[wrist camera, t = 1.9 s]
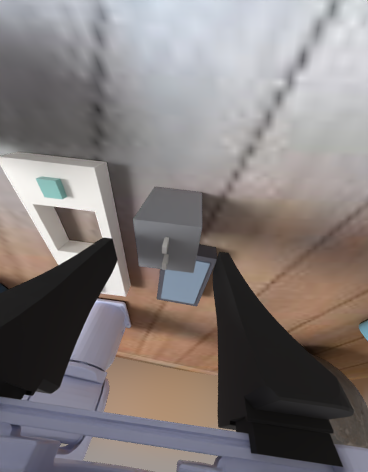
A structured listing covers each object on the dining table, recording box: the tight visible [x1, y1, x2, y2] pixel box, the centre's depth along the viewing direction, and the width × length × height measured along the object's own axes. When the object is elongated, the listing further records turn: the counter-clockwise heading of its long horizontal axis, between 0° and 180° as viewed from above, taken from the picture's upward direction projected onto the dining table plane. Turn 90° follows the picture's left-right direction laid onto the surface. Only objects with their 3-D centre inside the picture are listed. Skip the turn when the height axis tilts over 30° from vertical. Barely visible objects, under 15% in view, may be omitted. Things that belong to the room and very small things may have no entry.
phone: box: [157, 244, 217, 306], centre depth 21 cm, size 10×6×3 cm, turn 170°
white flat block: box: [0, 152, 131, 296], centre depth 18 cm, size 18×8×3 cm, turn 175°
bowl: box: [311, 354, 368, 449], centre depth 31 cm, size 18×18×13 cm
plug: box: [133, 187, 202, 273], centre depth 14 cm, size 4×4×7 cm
